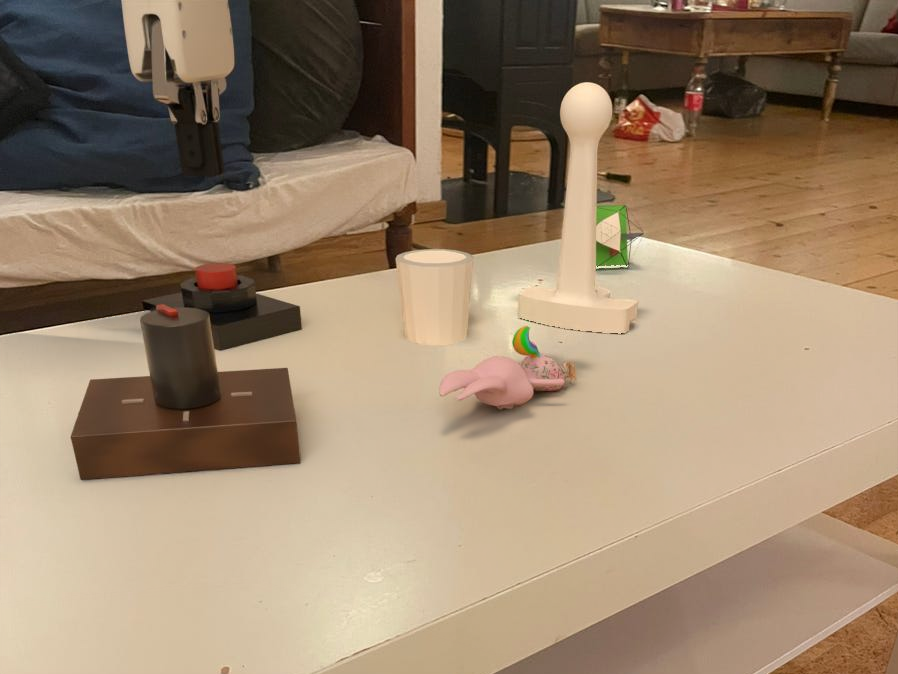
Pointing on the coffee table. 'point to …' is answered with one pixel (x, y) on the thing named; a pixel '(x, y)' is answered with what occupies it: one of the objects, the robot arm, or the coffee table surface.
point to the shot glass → (435, 295)
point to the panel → (185, 427)
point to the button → (216, 276)
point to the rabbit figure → (509, 376)
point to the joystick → (580, 230)
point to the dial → (180, 357)
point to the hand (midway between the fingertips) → (203, 174)
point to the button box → (235, 312)
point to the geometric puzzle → (613, 236)
